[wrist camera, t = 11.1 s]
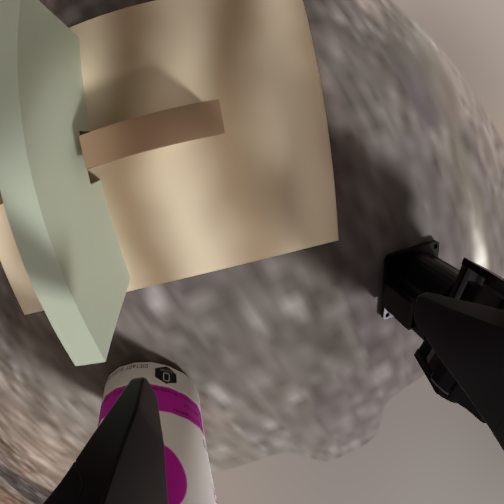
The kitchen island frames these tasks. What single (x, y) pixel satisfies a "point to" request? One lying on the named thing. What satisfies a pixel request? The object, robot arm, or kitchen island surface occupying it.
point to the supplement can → (172, 428)
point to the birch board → (210, 148)
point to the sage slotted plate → (56, 182)
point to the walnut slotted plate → (151, 132)
